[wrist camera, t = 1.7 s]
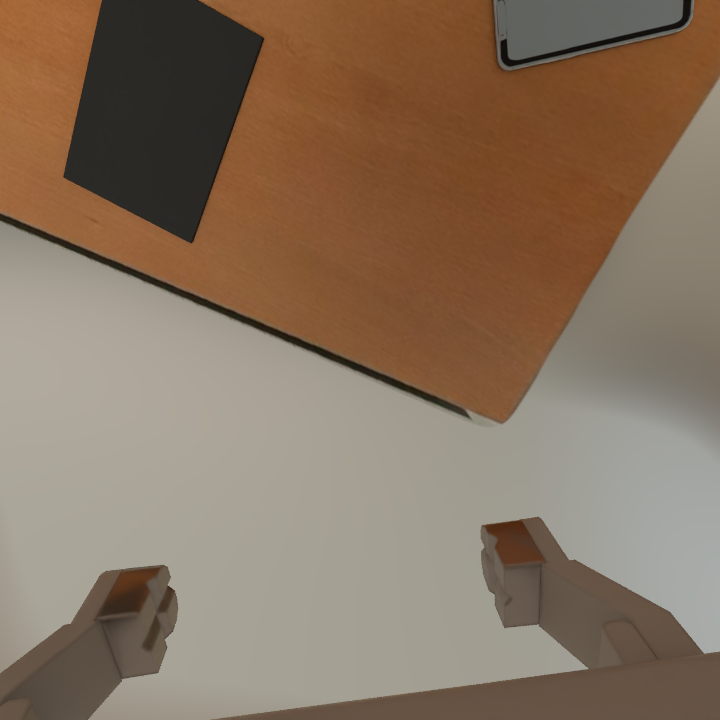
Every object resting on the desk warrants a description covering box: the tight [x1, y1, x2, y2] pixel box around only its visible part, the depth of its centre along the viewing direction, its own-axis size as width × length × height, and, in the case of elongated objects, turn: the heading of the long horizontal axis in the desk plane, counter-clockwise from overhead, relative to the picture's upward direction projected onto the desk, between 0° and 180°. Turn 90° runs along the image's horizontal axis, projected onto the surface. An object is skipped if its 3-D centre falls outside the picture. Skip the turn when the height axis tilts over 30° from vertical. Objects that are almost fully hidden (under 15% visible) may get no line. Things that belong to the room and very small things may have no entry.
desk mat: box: [63, 0, 264, 243], centre depth 45 cm, size 20×14×1 cm
